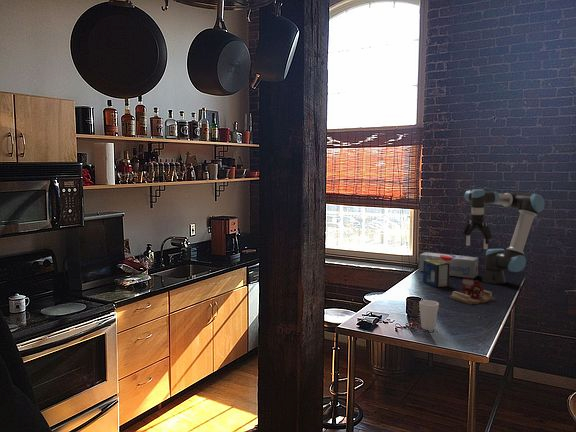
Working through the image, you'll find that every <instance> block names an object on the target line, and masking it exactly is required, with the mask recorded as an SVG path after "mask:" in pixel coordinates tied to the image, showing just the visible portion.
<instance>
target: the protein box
mask: <svg viewBox="0 0 576 432" xmlns="http://www.w3.org/2000/svg"><path fill="white" fill-rule="evenodd" d="M449 268H450V264H449V263H446V262H443V261H440V260H437V259H432V260H424V266H423V272H422V283H425V284H427V285H429V286H432V287H435V288H442V287H449V286H450V275H449Z"/></svg>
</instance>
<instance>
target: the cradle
mask: <svg viewBox="0 0 576 432" xmlns="http://www.w3.org/2000/svg"><path fill="white" fill-rule="evenodd" d="M474 290H475V289H474ZM474 290H473V292H474ZM479 290H480V289H479ZM483 290H484V291H483V296H479V297H478V298H476V299H475V298H473V297H472V294H471V295H470V296H469V295H466V294H463V292H459V291H456V290H454V291H452V294H450V295H449V299H453V300H456V301H458V302H461V303H464V304H467V305H476V304H482V303H488V302H493V301H495V297H493V295H492V294H493V293H492V291H489V290H485V289H483Z"/></svg>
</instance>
